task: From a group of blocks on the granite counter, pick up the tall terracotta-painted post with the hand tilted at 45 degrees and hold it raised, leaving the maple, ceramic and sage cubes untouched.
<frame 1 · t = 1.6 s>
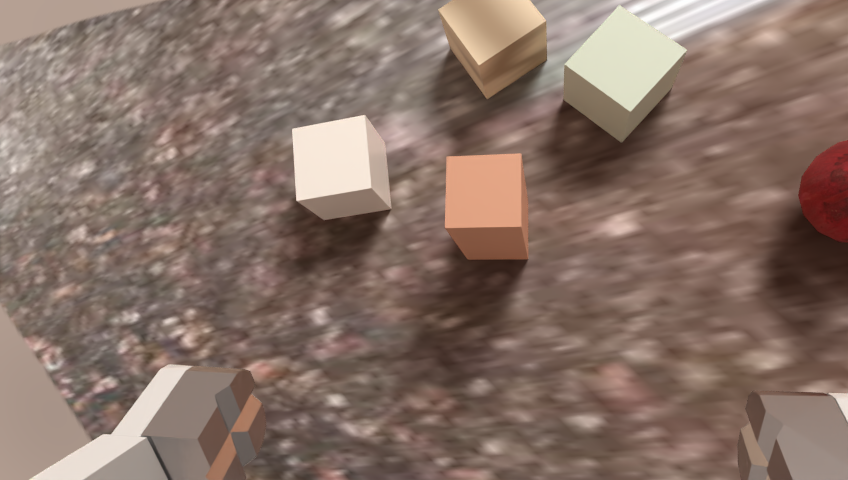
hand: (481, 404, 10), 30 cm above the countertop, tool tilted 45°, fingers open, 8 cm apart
ceramic block: (354, 181, 44), on the countertop
sage block: (616, 94, 42), on the countertop
onion: (830, 209, 37), on the countertop
terracotta post: (497, 230, 41), on the countertop
maple block: (497, 54, 44), on the countertop
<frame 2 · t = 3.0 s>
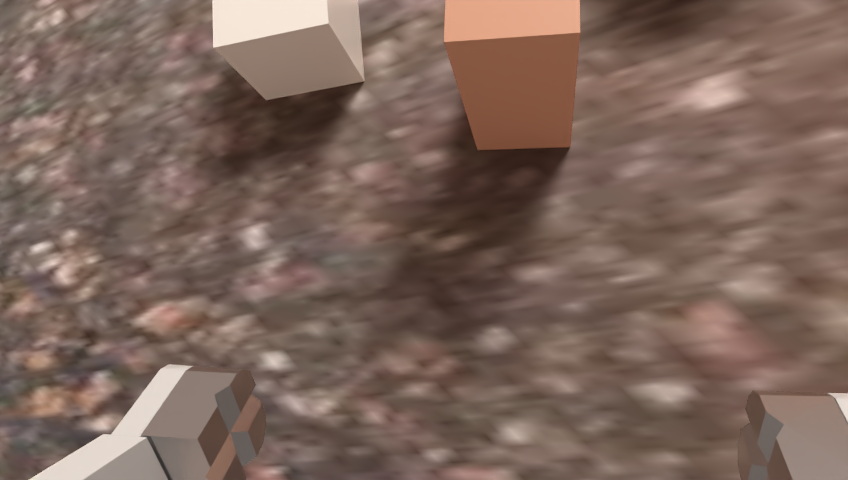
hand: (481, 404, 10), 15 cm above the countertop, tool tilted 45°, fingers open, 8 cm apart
ceramic block: (312, 45, 30), on the countertop
terracotta post: (523, 106, 27), on the countertop
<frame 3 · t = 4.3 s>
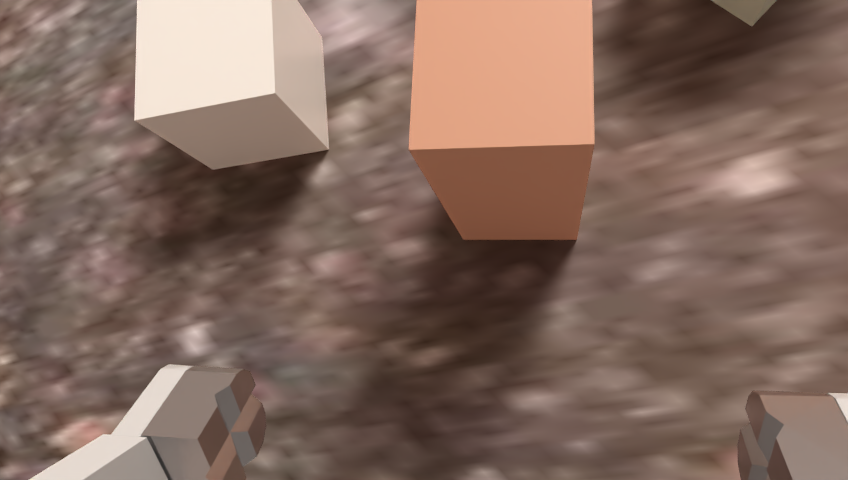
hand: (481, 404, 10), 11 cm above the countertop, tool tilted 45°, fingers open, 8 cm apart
ceramic block: (268, 104, 25), on the countertop
terracotta post: (519, 186, 22), on the countertop
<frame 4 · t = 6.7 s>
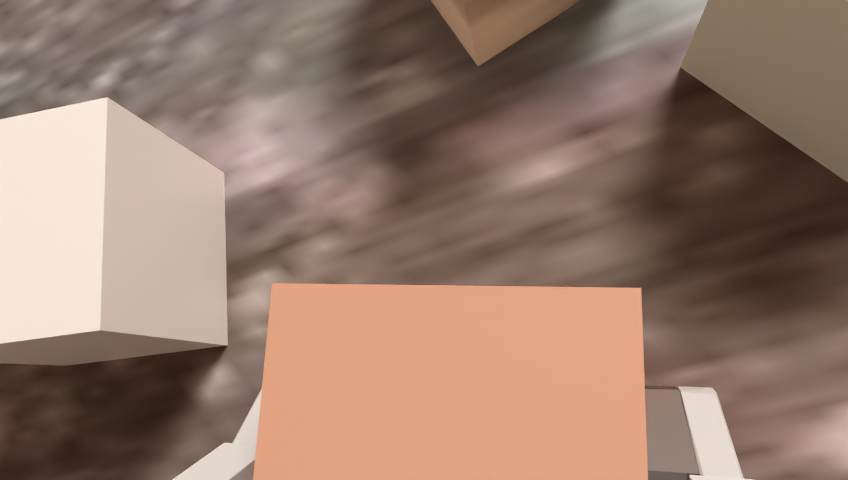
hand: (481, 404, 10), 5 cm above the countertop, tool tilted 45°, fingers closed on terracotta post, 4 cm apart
ceramic block: (147, 268, 18), on the countertop
sage block: (829, 53, 15), on the countertop
terracotta post: (502, 425, 15), on the countertop, touching gripper
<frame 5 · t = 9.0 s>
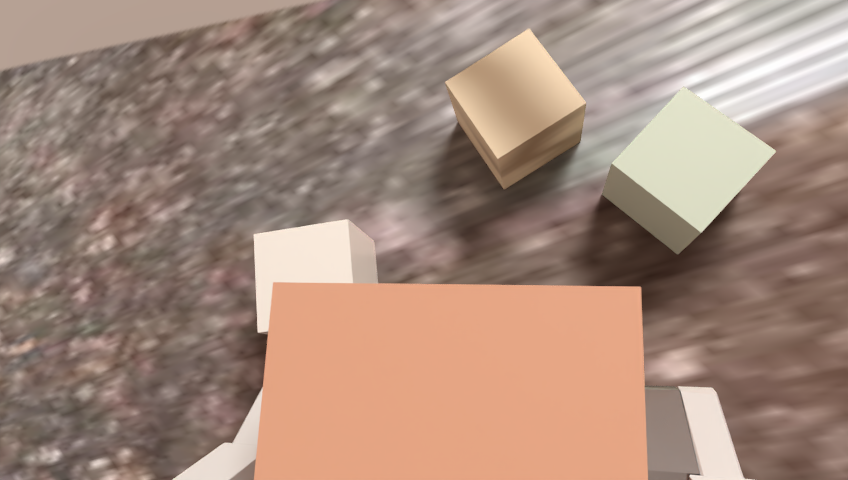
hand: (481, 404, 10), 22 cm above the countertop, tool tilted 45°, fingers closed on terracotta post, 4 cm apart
ceramic block: (336, 290, 35), on the countertop
sage block: (670, 190, 33), on the countertop
terracotta post: (503, 424, 15), point 18 cm above the countertop, touching gripper
maple block: (517, 132, 35), on the countertop
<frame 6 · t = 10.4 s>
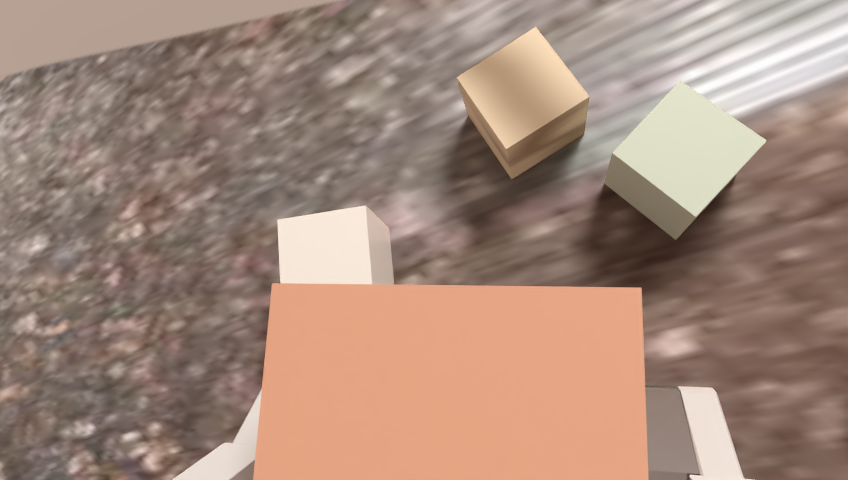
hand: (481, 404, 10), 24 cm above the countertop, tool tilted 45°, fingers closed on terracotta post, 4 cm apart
ceramic block: (352, 274, 37), on the countertop
sage block: (668, 179, 35), on the countertop
terracotta post: (503, 425, 15), point 19 cm above the countertop, touching gripper
maple block: (524, 125, 37), on the countertop
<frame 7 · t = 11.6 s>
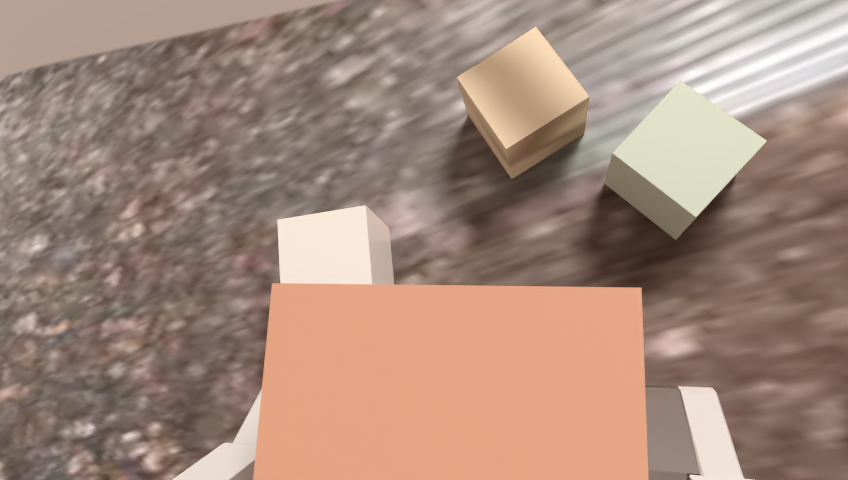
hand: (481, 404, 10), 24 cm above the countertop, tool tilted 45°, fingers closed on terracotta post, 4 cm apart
ceramic block: (353, 274, 37), on the countertop
sage block: (668, 179, 35), on the countertop
terracotta post: (503, 425, 15), point 19 cm above the countertop, touching gripper
maple block: (524, 125, 37), on the countertop
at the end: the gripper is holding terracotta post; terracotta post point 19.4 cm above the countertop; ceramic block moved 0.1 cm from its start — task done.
